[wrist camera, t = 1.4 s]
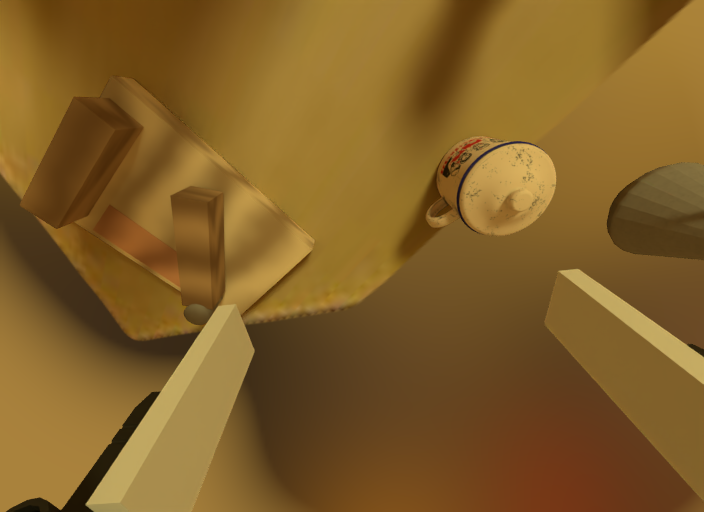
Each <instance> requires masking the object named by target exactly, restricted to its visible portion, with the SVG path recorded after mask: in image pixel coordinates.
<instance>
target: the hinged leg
mask: <svg viewBox="0 0 704 512" xmlns="http://www.w3.org/2000/svg"><path fill="white" fill-rule="evenodd" d="M170 198H171V207H172V216H173V225H174V234H175V243H176V252H177V261H178V270H179V279H180V288H181V297H182V305H184V306H187V308H186V309H185V310H184V316H185V318H186V319H187V320H188V321H189V322H191V323H193V324H196V325H203V324H205V323H207V322H208V320H209V319H210V317H211V316H212V314H213V313H214V311H215V310H216V308H217V307H218V305H219V304H220V302H221V301H222V299H223V293H224V292H225V256H224V203H223V192H221V191H216V190H210V189H205V188H200V187H194V186H189V187H187V188H185V189H183V190H181V191H179V192H177V193H175V194H173V195H171V196H170Z"/></svg>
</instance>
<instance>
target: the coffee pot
mask: <svg viewBox="0 0 704 512" xmlns="http://www.w3.org/2000/svg"><path fill="white" fill-rule="evenodd" d="M607 229H608V233H609V235H610V237H611V239H612V240H613V242H614V244H615V245H617V246H618V247H619V248H620V249H622V250H624V251H627V252H630V253H633V254H643V255H655V256H665V257H677V258H688V259H699V260H704V165H701V164H699V163H677V164H673V165H668V166H664V167H659V168H657V169H655V170H652V171H650V172H648V173H645V174H644V175H643V176H641V177H639V178H638V179H636V180H635V181H633V182H632V183H630V184H629V185H627V186H626V187H625V188H624V189H623V190H622V191H621V192H620V193H619V194H618V195H617V197H616V198H615V199H614V201H613V203H612V205H611V207H610V211H609V215H608V220H607Z"/></svg>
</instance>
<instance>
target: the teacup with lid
mask: <svg viewBox="0 0 704 512" xmlns="http://www.w3.org/2000/svg"><path fill="white" fill-rule="evenodd" d="M555 186H556V173H555V168H554V165H553V162H552V160H551V159H550V157H549V156H548V155H547V153H546V152H545V151H544V150H542V149H541V148H539V147H538V146H536V145H534V144H531V143H527V142H521V141H515V142H508V141H503V140H499V139H494V138H489V137H484V136H477V137H471V138H467V139H465V140H463V141H461V142H459V143H457V144H456V145H455V146H453V147H452V148H451V149H450V150H449V151H448V152H447V153H446V155H445V156H444V158H443V159H442V161H441V163H440V165H439V168H438V172H437V187H438V191H439V193H440V195H441V197H442V198H440V199H439V200H437V201H436V202H435V203H433V204H432V205H431V206H430V208H429V209H428V211H427V213H426V221H427V222H428V224H429V225H430V226H431V227H433V228H439V227H443V226H446V225H448V224H450V223H452V222H454V221H455V220H457V219H459V218H460V217H461V219H462V221H463V222H464V223H465V224H466V225H467V226H468V227H469V228H470V229H471V230H473V231H475V232H477V233H480V234H483V235H488V236H503V235H508V234H512V233H515V232H517V231H520V230H522V229H524V228H525V227H527V226H529V225H530V224H531V223H533V222H534V221H535V220H536V219H537V218H538V217H539V216H540V215H541V214H542V213H543V212H544V211H545V209H546V208H547V206H548V205H549V203H550V201H551V199H552V197H553V194H554V191H555ZM448 205H450V206H451V207H452V208H453V209H452V210H450V211H449V212H447V213H445V214H443V215H441V216H439V217H436V215H437V214H438V213H439V212H440V211H441V210H442V209H443V208H445V207H446V206H448Z"/></svg>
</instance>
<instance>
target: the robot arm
mask: <svg viewBox="0 0 704 512" xmlns="http://www.w3.org/2000/svg"><path fill="white" fill-rule="evenodd" d="M544 324H545V326H546V327H547V328H548V329H549V330H550V331H551V332H552V333H553V335H554V336H555V337H556V338H557V339H558V340H559V341H560V342H561V343H562V345H563V346H564V347H565V348H566V349H567V350H568V351H569V352H570V353H571V355H572V356H573V357H574V358H575V359H576V360H577V361H578V362H579V363H580V365H582V367H583V368H584V369H585V370H586V371H587V372H588V373H589V375H590V376H591V377H592V378H593V379H594V380H595V381H596V382H597V383H598V385H599V386H600V387H601V388H602V389H603V390H604V391H605V392H606V394H607V395H608V396H609V397H610V398H611V399H612V400H613V401H614V402H615V403H616V405H617V406H618V407H619V408H620V409H621V410H622V411H623V412H624V414H625V415H626V416H627V417H628V418H629V419H630V420H631V421H632V422H633V424H634V425H636V427H637V428H638V429H639V430H640V431H641V432H642V433H643V435H644V436H645V437H646V438H647V439H648V440H649V441H650V442H651V444H652V445H654V447H655V448H656V449H657V450H658V451H659V452H660V453H661V455H662V456H663V457H664V458H665V459H666V460H667V461H668V462H669V464H670V465H671V466H672V467H673V468H674V469H675V470H676V471H677V472H678V473H679V475H680V476H681V477H682V478H683V479H684V480H685V481H686V482H687V484H688V485H689V486H690V487H691V488H692V489H693V490H694V491H695V492H696V494H697V495H698V496H699V497H700V498H701V499H702V500H703V501H704V349H701V348H699V347H697V346H695V345H693V344H687V345H686V344H684V343H683V342H681V341H680V340H679V339H677V338H676V337H674V336H673V335H672V334H670V333H669V332H667V331H666V330H664V329H663V328H662V327H660V326H659V325H657V324H656V323H654V322H653V321H652V320H650V319H649V318H647V317H646V316H644V315H643V314H642V313H640V312H639V311H637V310H636V309H635V308H633V307H632V306H630V305H629V304H627V303H626V302H624V301H623V300H622V299H620V298H619V297H617V296H616V295H615V294H613V293H611V292H610V291H609V290H607V289H606V288H605V287H603V286H602V285H600V284H599V283H597V282H596V281H595V280H593V279H592V278H590V277H589V276H588V275H586V274H585V273H583V272H582V271H581V270H579V269H572V270H563V271H558V273H557V277H556V281H555V285H554V288H553V292H552V296H551V300H550V303H549V307H548V311H547V314H546V318H545V322H544ZM253 354H254V348H253V346H252V343H251V341H250V338H249V335H248V333H247V331H246V328H245V325H244V323H243V320H242V318H241V315H240V313H239V310H238V308H237V305H236V304H231V305H222V306H218V307H217V309H216V310H215V312H214V313H213V315H212V316H211V318H210V319H209V321H208V322H207V324H206V325H205V327H204V328H203V330H202V331H201V333H200V334H199V336H198V337H197V339H196V340H195V342H194V343H193V345H192V346H191V348H190V349H189V351H188V352H187V354H186V355H185V357H184V358H183V360H182V361H181V363H180V364H179V366H178V367H177V369H176V370H175V371H174V373H173V374H172V376H171V377H170V379H169V380H168V382H167V383H166V385H165V387H164V388H163V389H162V391H161V392H152V393H151V394H150V395H149V396H147V397H146V398H145V399H144V400H143V401H142V402H141V403H140V404H139V405H138V406H137V407H135V409H134V410H133V411H132V413H131V414H130V416H129V417H128V418H127V420H126V421H125V423H124V424H123V428H122V429H120V430H119V431H118V432H117V434H116V435H115V437H114V438H113V440H112V443H111V444H109V445H108V447H107V448H106V449H105V450H104V452H103V453H102V455H101V456H100V457H99V459H98V460H97V462H96V463H95V464H94V466H93V467H92V469H91V470H90V471H89V473H88V474H87V476H86V477H85V478H84V480H83V481H82V482H81V484H80V485H79V487H78V488H77V490H76V491H75V492H74V494H73V495H72V496H71V498H70V499H69V501H68V502H67V503H66V505H65V506H64V507H63V509H62V510H59V509H58V508H57V507H55V506H54V505H52V504H51V503H50V502H48V501H47V500H44V499H42V498H35V499H30V500H26V501H24V502H22V503H20V504H18V505H16V506H14V507H12V508H11V509H9V510H8V511H6V512H191V511H192V509H193V506H194V504H195V501H196V499H197V496H198V494H199V491H200V489H201V486H202V483H203V480H204V478H205V476H206V473H207V471H208V468H209V466H210V463H211V460H212V458H213V456H214V453H215V450H216V447H217V445H218V443H219V440H220V438H221V435H222V433H223V430H224V428H225V425H226V423H227V420H228V417H229V414H230V412H231V410H232V407H233V404H234V402H235V400H236V397H237V394H238V392H239V389H240V387H241V384H242V382H243V379H244V377H245V374H246V372H247V369H248V367H249V364H250V362H251V359H252V356H253Z"/></svg>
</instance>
